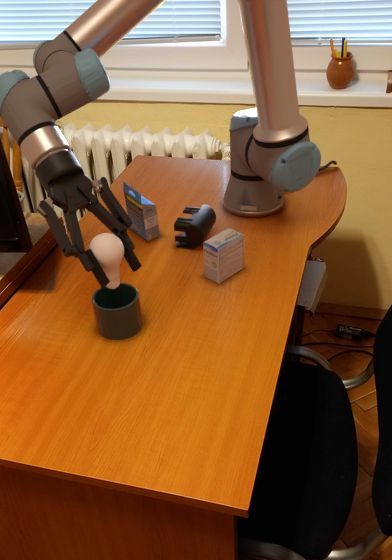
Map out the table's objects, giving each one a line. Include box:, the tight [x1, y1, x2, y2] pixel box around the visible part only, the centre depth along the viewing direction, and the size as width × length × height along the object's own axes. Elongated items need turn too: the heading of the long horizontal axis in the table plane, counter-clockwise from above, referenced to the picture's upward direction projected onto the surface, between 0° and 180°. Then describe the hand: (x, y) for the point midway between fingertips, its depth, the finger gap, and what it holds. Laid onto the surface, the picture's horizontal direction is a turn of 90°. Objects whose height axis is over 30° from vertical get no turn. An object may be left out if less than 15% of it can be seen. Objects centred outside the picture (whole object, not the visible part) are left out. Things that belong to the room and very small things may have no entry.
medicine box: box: [202, 227, 245, 285], centre depth 116 cm, size 8×4×9 cm, turn 134°
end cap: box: [173, 203, 217, 250], centre depth 128 cm, size 10×7×7 cm
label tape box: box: [122, 180, 161, 242], centre depth 130 cm, size 9×4×12 cm, turn 34°
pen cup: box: [91, 282, 144, 341], centre depth 105 cm, size 9×9×7 cm
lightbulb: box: [88, 232, 124, 289], centre depth 98 cm, size 6×6×11 cm
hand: (121, 276), depth 97 cm, fingers closed on lightbulb, 6 cm apart
